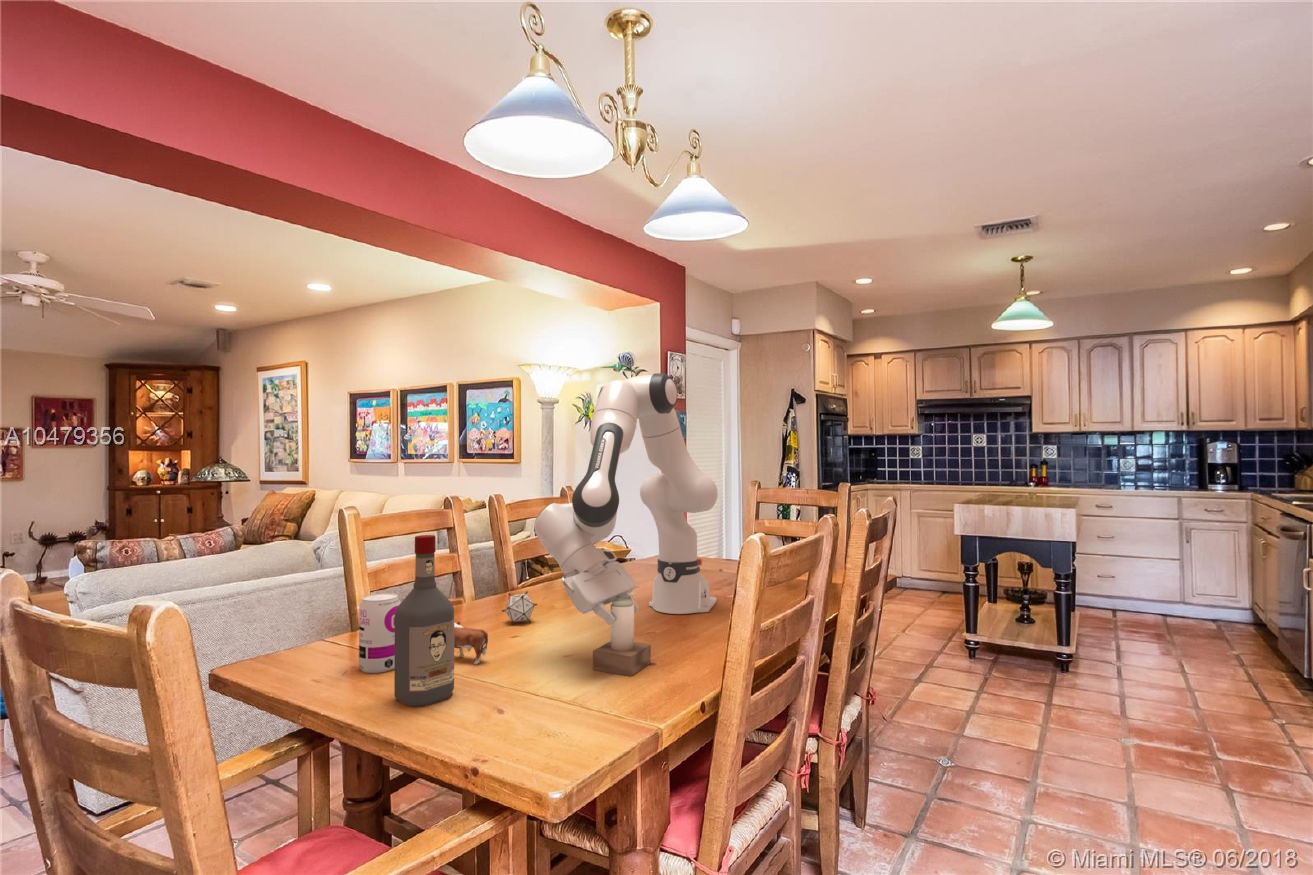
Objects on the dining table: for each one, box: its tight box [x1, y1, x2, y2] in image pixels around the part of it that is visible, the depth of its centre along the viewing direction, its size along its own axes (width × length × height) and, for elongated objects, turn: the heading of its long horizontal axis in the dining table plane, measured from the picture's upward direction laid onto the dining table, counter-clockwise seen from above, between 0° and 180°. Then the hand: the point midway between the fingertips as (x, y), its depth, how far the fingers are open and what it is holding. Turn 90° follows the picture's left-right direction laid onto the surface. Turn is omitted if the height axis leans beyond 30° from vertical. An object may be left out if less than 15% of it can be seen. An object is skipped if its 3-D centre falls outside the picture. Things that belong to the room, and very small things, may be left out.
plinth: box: [592, 641, 652, 677], centre depth 140 cm, size 9×9×4 cm
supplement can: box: [358, 592, 402, 674], centre depth 140 cm, size 8×8×15 cm
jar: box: [609, 599, 635, 651], centre depth 140 cm, size 5×5×10 cm
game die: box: [501, 590, 538, 626], centre depth 176 cm, size 9×8×10 cm
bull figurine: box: [454, 621, 489, 665], centre depth 145 cm, size 4×13×8 cm, turn 59°
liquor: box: [393, 534, 455, 707], centre depth 124 cm, size 9×9×30 cm
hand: (624, 617), depth 140 cm, fingers open, 8 cm apart
